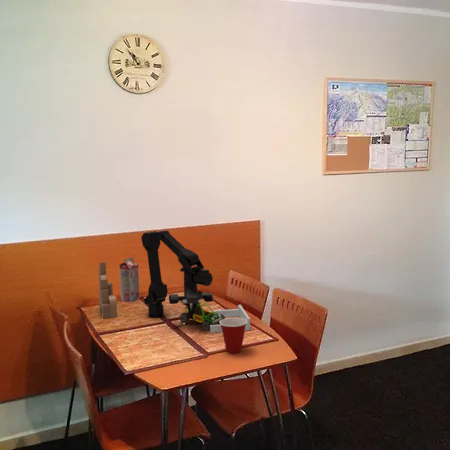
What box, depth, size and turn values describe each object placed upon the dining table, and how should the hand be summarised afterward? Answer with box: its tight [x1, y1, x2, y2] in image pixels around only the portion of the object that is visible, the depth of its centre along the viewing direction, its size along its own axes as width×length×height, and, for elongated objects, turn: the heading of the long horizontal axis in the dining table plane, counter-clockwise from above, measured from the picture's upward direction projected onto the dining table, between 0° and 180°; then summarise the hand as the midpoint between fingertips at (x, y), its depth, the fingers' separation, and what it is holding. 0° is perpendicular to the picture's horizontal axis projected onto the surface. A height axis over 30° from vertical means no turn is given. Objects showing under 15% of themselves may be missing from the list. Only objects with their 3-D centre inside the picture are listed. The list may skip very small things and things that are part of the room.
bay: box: [209, 304, 251, 334], centre depth 213 cm, size 17×19×5 cm
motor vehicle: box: [179, 300, 226, 331], centre depth 214 cm, size 12×19×11 cm, turn 53°
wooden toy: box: [98, 261, 118, 320], centre depth 227 cm, size 15×7×25 cm, turn 21°
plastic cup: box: [218, 317, 247, 354], centre depth 184 cm, size 11×11×12 cm
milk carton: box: [119, 257, 140, 303], centre depth 247 cm, size 7×7×22 cm
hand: (191, 317), depth 210 cm, fingers closed
